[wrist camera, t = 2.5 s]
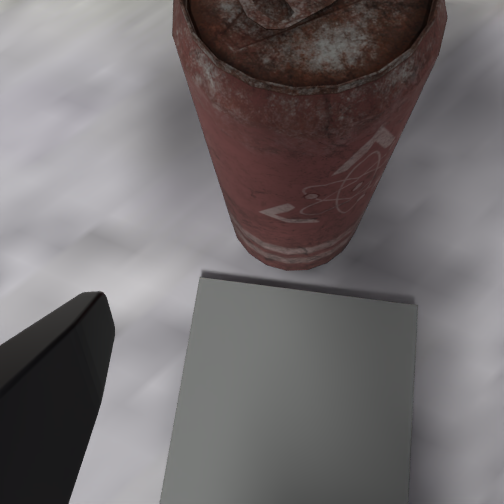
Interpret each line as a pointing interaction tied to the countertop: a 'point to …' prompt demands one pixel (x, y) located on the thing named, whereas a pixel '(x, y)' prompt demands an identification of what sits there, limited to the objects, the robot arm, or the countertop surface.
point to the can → (303, 109)
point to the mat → (293, 399)
